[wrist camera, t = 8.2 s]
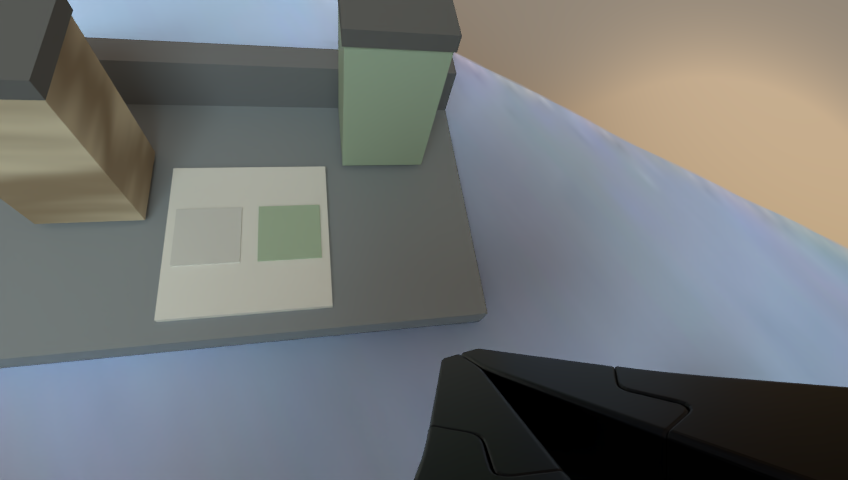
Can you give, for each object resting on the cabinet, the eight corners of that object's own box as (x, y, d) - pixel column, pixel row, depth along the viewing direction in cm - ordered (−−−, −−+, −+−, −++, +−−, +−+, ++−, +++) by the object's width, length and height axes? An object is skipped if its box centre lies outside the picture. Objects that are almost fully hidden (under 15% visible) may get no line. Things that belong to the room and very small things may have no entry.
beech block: (147, 221, 20) (28, 80, 13) (31, 226, 19) (-176, 75, 12) (157, 150, 22) (59, -12, 14) (52, 151, 21) (-115, -24, 13)
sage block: (422, 166, 25) (461, 35, 17) (340, 167, 24) (342, 28, 16) (413, 110, 26) (444, -31, 19) (336, 108, 25) (335, -42, 18)
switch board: (478, 321, 23) (508, 294, 19) (-36, 371, 18) (-142, 349, 14) (436, 108, 29) (451, 55, 25) (45, 101, 24) (-12, 32, 20)
